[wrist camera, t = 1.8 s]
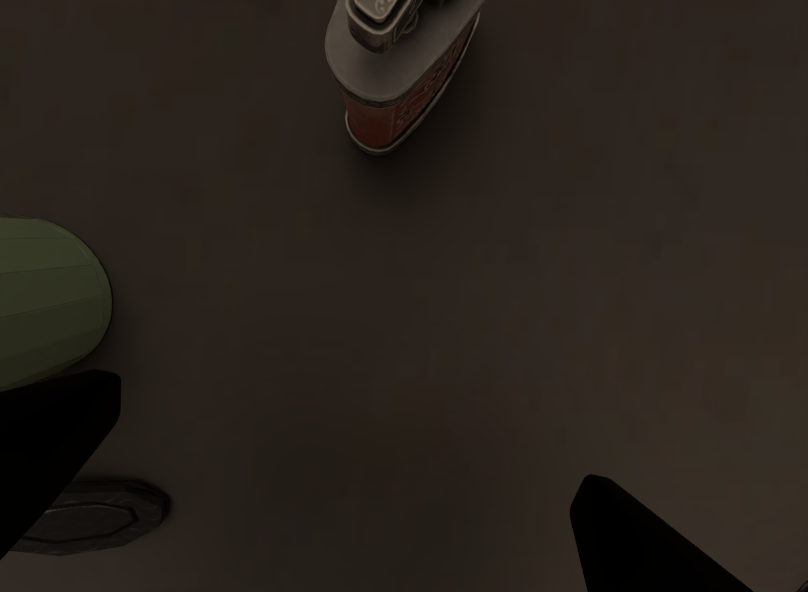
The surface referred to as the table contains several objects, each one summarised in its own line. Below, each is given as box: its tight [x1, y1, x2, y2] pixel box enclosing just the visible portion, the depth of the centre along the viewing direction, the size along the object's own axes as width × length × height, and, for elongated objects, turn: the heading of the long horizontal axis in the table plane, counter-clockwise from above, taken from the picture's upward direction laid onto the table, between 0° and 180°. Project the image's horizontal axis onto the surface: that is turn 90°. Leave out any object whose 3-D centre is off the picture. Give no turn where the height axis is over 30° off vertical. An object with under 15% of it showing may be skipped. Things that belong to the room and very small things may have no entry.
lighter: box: [325, 0, 486, 156], centre depth 13 cm, size 8×3×10 cm, turn 145°
